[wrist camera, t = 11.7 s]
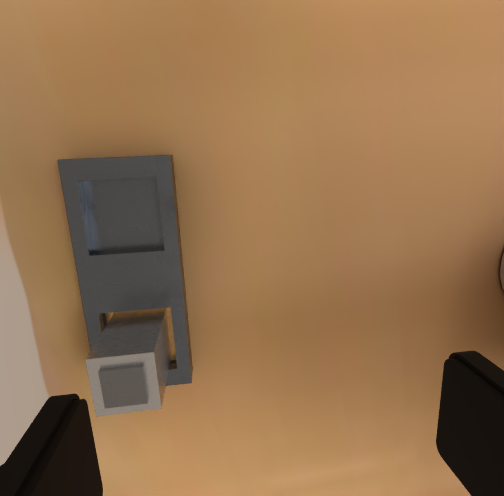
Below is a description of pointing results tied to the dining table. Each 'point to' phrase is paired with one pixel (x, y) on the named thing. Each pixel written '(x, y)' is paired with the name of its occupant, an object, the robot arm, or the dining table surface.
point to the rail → (128, 245)
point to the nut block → (130, 363)
